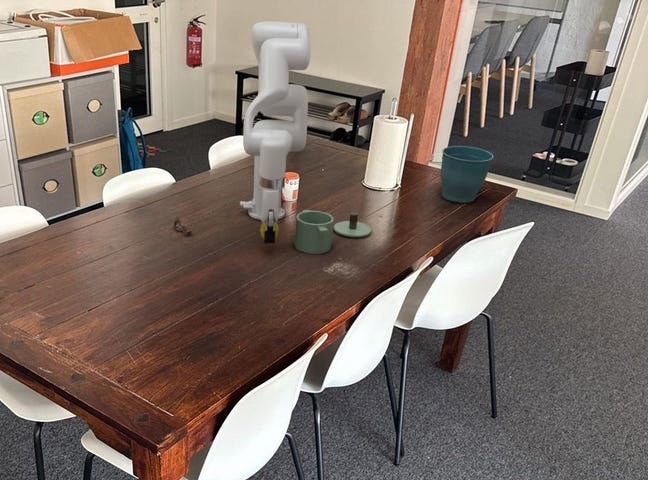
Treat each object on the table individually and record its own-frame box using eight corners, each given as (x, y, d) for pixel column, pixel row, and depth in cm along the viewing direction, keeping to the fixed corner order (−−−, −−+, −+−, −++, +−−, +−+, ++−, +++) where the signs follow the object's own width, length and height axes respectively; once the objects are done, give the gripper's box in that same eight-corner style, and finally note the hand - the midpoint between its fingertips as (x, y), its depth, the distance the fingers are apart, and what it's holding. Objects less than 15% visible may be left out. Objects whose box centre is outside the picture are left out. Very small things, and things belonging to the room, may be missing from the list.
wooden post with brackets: (174, 224, 223) (177, 213, 220) (188, 240, 221) (192, 230, 217) (169, 225, 222) (172, 215, 219) (184, 241, 220) (187, 231, 216)
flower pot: (489, 196, 259) (499, 151, 249) (475, 210, 246) (485, 163, 237) (443, 186, 267) (452, 143, 257) (427, 199, 254) (435, 154, 244)
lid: (341, 240, 219) (343, 222, 216) (328, 225, 229) (329, 208, 226) (377, 237, 222) (379, 219, 219) (362, 223, 232) (364, 205, 229)
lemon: (259, 238, 211) (260, 214, 207) (276, 238, 212) (278, 214, 207) (260, 246, 207) (261, 222, 202) (278, 246, 207) (280, 222, 203)
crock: (304, 258, 206) (306, 229, 201) (287, 237, 220) (289, 209, 215) (339, 255, 209) (342, 226, 204) (320, 234, 223) (323, 206, 217)
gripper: (258, 170, 205) (256, 226, 215) (259, 192, 191) (257, 250, 201) (283, 171, 205) (280, 227, 216) (286, 192, 191) (282, 251, 202)
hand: (269, 238), depth 208 cm, fingers closed on lemon, 5 cm apart
